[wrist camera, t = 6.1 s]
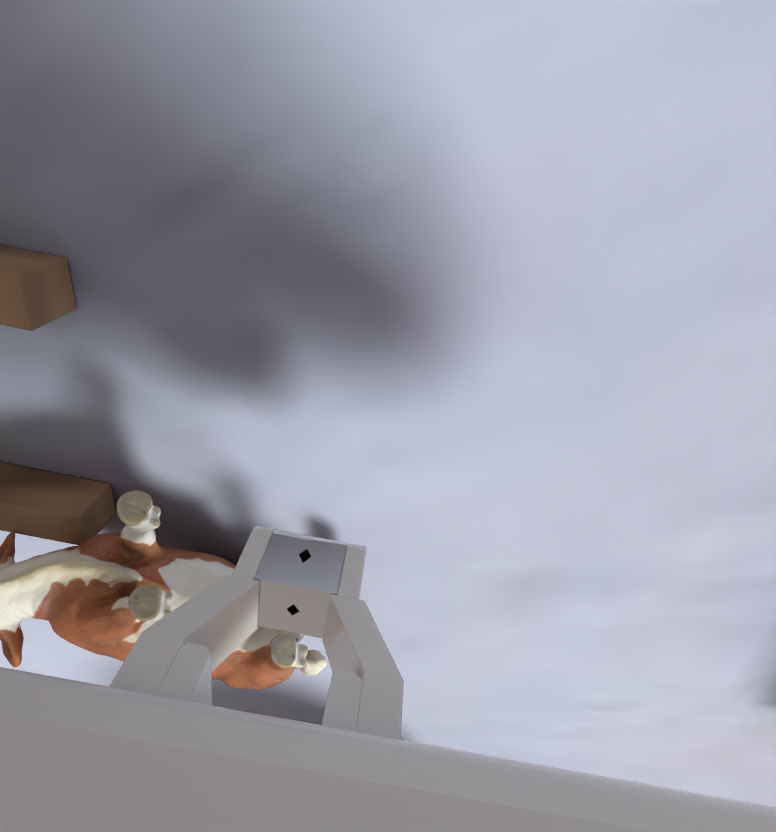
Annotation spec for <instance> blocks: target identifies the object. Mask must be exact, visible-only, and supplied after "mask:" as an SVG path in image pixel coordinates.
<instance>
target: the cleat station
mask: <svg viewBox="0 0 776 832" xmlns="http://www.w3.org/2000/svg"><path fill="white" fill-rule="evenodd" d="M75 309H77V307H76V302H75V297H74V292H73V287H72V282H71V276H70V271H69V266H68V261H67V258H64V257H59V256H54V255H49V254H44V253H39V252H35V251H30V250H25V249H20V248H15V247H10V246H5V245H0V324H1V325H6V326H11V327H16V328H21V329H26V330H31V331H33V330H35V329H37V328H39V327H41V326H43V325H45V324H47V323H49V322H51V321H53V320H55V319H57V318H59V317H61V316H63V315H65V314H67V313H69V312H71V311H73V310H75ZM115 513H116V510H115V504H114V499H113V494H112V489H111V484H109V483H104V482H99V481H94V480H88V479H83V478H78V477H73V476H68V475H63V474H57V473H52V472H47V471H42V470H37V469H32V468H27V467H21V466H16V465H11V464H6V463H1V462H0V530H2V531H8V532H14V533H18V534H23V535H29V536H34V537H39V538H44V539H50V540H55V541H60V542H65V543H70V544H76V545H81V544H82V543H84V542H85V541H86V540H88V539H89V538H91V537H93V536H95V535H97V534H98V533H99V532H100V530H101V529H102V528H103V527H104V526H105V524H106V523H107V522H108V521H109V520H110V519H111V517H112V516H113V515H114V514H115Z"/></svg>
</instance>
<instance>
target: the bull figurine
mask: <svg viewBox="0 0 776 832" xmlns="http://www.w3.org/2000/svg"><path fill="white" fill-rule="evenodd" d="M152 502H153V501H152V498H151V496H150V495H148V494H147V493H145V492H143V491H138V490H136V491H129V492H126V493H124V494H123V495H121V497H120V498H119V500H118V502H117V504H116V507H117V514H118V517H119V518H120V520H121V521H122V522H124V523H125V524H126V526H125V527H124V528H123V530H122V533H103V534H99V535H95V536H93V537H91V538H89V539H88V540H86V541H85V542H84V543H82V544H81V545H79V546H72V547H68V548H65V549H62V550H57V551H53V552H49V553H47V554H44V555H39V556H35V557H32V558H30V559H27V560H24V561H22V562H18V563H15V561H14V555H15V533H14V532H11V533H10V534H9V535H8V536H7V537H6V539H5V541H4V542H3V544H2V545H1V547H0V640H1V642H2V648H3V653H4V655H5V657H6V658H7V660H8V661H9V663H10V664H11V665H12V666H13V667H18V666H19V665H20V664H21V660H22V653H21V652H22V645H23V639H24V638H23V633H22V630H21V627H20V623H21V621H22V620H23V619H24V618H36V619H44V620H48V621H49V622H50V624H51V626H52V629H53V630H54V632H55V633H56V634H57V635H59V636H60V637H61V638H63V639H65V640H66V641H68V642H70V643H72V644H74V645H76V646H79V647H81V648H83V649H85V650H88V651H91V652H94V653H96V654H100V655H105V656H109V657H112V658H115V659H118V660H121V661H125V660H126V658H127V656H128V655H129V653H130V651H131V649H132V648H133V646H134V644H135V643H136V641H137V639H138V638H139V636H140V634H141V632H142V631H144V630H145V629H147V628H148V627H150V626H151V625H153V624H154V623H156V622H157V621H158V620H160V619H161V618H163V617H164V616H166V615H167V614H169V613H170V612H172V611H173V610H175V609H176V608H177V607H179V606H180V605H182V604H183V603H185V602H186V601H188V600H189V599H191V598H192V597H194V596H195V595H196V594H198V593H199V592H201V591H202V590H204V589H205V588H207V587H208V586H210V585H211V584H213V583H214V582H215V581H217V580H218V579H220V578H221V577H223V576H224V575H226V574H227V575H232V573H233V571H234V569H235V567H236V566H235V565H234V564H233V563H231V562H229V561H228V560H226V559H224V558H221V557H219V556H215V555H211V554H207V553H202V552H195V551H186V550H181V549H177V548H171V547H165V546H159V545H158V543H157V541H156V535H155V530H154V529H156V528H158V527H159V526H160V520H159V516H160V514H161V509H160V508H159V507H157V506H154V505H152ZM303 636H304V634H299V633H295V632H290V631H283V630H277V629H271V628H264V627H258V626H257V629H256V630H255V631H254V632H253V633H252V634H251V635H250V636H249V637H248V638H247V639H246V640H245V641H244V642H243V643H242V644H241V645H240V646H239V647H237V648H236V649H235V650H234V651H233V652H232V653H231V654H230V655H229V656H228V657H227V658H226V659H225V660H224V661H223V662H222V663H221V664H220V665H219V666H218V667H217V668H216V669H215V670H213V671H212V672H211V679H220V680H222V681H223V682H224V683H225V684H227V685H229V686H231V687H234V688H241V689H243V688H250V689H263V688H267V687H271V686H274V685H277V684H279V683H281V682H283V681H285V680H286V679H288V677H289V676H290V675H291V674H292V672H293V671H294V669H300V670H301V671H302V672H303V673H304V674H305V675H316V674H318V673H319V672H320V671H321V669H322V668H324V667H325V666H326V665H327V661H326V658H325V657H324V656H323V655H322V654H321V653H320V652H319V651H316V650H308V648H307V646H306V645H303V644H297V643H298V642H299V641H300V640H301V639H302V638H303Z"/></svg>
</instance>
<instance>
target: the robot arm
mask: <svg viewBox="0 0 776 832" xmlns="http://www.w3.org/2000/svg"><path fill="white" fill-rule="evenodd" d="M366 550H367V549H366V546H361V545H355V544H350V543H348V545H347V543H346V542H340V541H335V540H329V539H324V538H318V537H312V536H311V537H310V536H305V535H300V534H296V533H291V532H287V531H282V530H278V529H272V528H267V527H262V526H258V525H256V526H255V527H254V528H253V530H252V532H251V534H250V536H249V538H248V540H247V543H246V545H245V547H244V549H243V551H242V554H241V556H240V558H239V560H238V562H237V565H236V567H235V569H234V571H233V573H232V575H227V574H226V575H224V576H223V577H221V578H220V579H218V580H217V581H215V582H214V583H213V584H211V585H210V586H208V587H207V588H205V589H204V590H202V591H201V592H199V593H198V594H196V595H195V596H194V597H192V598H191V599H189V600H188V601H186V602H185V603H183V604H182V605H180V606H179V607H177V608H176V609H175V610H173V611H172V612H170V613H169V614H167V615H166V616H164V617H163V618H161V619H160V620H158V621H157V622H156V623H154V624H153V625H151V626H150V627H148V628H147V629H145V630H144V631H142V632H141V634H140V636H139V638H138V639H137V641H136V643H135V644H134V646H133V648H132V649H131V651H130V653H129V655H128V656H127V658H126V660H125V661H124V663H123V665H122V666H121V668H120V670H119V671H118V673H117V675H116V677H115V678H114V680H113V682H112V683H111V685H110V687H107V686H102V685H96V684H91V683H85V682H80V681H74V680H69V679H63V678H58V677H52V676H47V675H41V674H36V673H30V672H25V671H19V670H13V669H8V668H2V667H0V832H776V807H771V806H765V805H760V804H754V803H748V802H743V801H737V800H732V799H726V798H721V797H715V796H710V795H704V794H699V793H693V792H688V791H682V790H677V789H671V788H665V787H660V786H654V785H649V784H643V783H638V782H632V781H627V780H621V779H616V778H610V777H605V776H599V775H594V774H588V773H583V772H577V771H571V770H566V769H560V768H555V767H549V766H544V765H538V764H533V763H527V762H522V761H516V760H511V759H505V758H500V757H494V756H488V755H483V754H477V753H472V752H466V751H461V750H455V749H450V748H444V747H439V746H433V745H428V744H422V743H417V742H411V741H406V740H401V721H402V702H403V683H404V681H403V679H402V677H401V675H400V673H399V670H398V668H397V666H396V664H395V662H394V660H393V658H392V656H391V654H390V652H389V650H388V648H387V646H386V644H385V642H384V640H383V638H382V636H381V634H380V632H379V630H378V627H377V625H376V623H375V621H374V619H373V617H372V615H371V613H370V611H369V609H368V607H367V605H366V603H365V601H364V600H360V599H359V595H360V589H361V582H362V576H363V570H364V563H365V557H366ZM257 626H258V627H264V628H271V629H277V630H283V631H290V632H295V633H299V634H304V635H309V636H313V637H318V638H322V639H323V644H324V647H325V650H326V653H327V656H328V659H329V662H330V665H331V669H332V672H333V675H332V678H331V683H330V687H329V692H328V696H327V701H326V706H325V710H324V715H323V719H322V724H321V725H318V724H312V723H307V722H301V721H296V720H290V719H285V718H279V717H274V716H268V715H262V714H257V713H251V712H246V711H240V710H235V709H229V708H224V707H218V706H213V704H212V680H211V672H212V671H213V670H215V669H216V668H217V667H218V666H219V665H220V664H221V663H222V662H223V661H224V660H225V659H226V658H227V657H228V656H229V655H230V654H231V653H232V652H233V651H234V650H235V649H236V648H237V647H239V646H240V645H241V644H242V643H243V642H244V641H245V640H246V639H247V638H248V637H249V636H250V635H251V634H252V633H253V632H254V631H255V630H256V629H257Z"/></svg>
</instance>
